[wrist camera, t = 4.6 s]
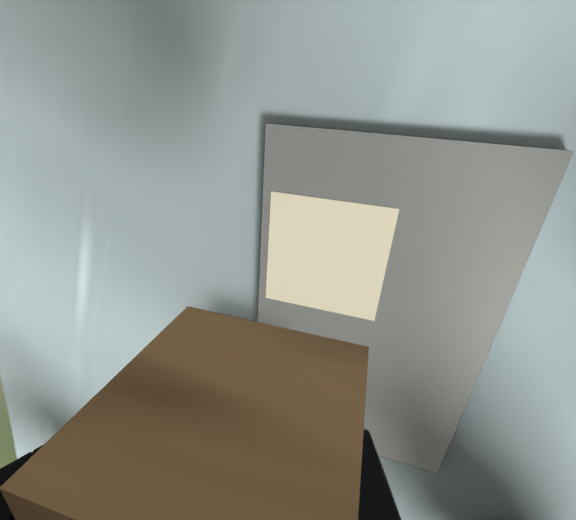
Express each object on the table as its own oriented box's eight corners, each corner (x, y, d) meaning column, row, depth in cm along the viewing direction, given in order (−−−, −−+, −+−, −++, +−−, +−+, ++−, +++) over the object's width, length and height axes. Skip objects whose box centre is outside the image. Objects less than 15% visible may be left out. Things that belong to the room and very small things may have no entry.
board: (566, 150, 14) (574, 151, 14) (435, 465, 23) (437, 474, 23) (269, 123, 17) (265, 123, 17) (256, 412, 26) (253, 418, 26)
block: (341, 472, 10) (308, 751, 6) (197, 428, 11) (74, 633, 7) (368, 347, 8) (350, 633, 4) (187, 306, 9) (-1, 488, 5)
